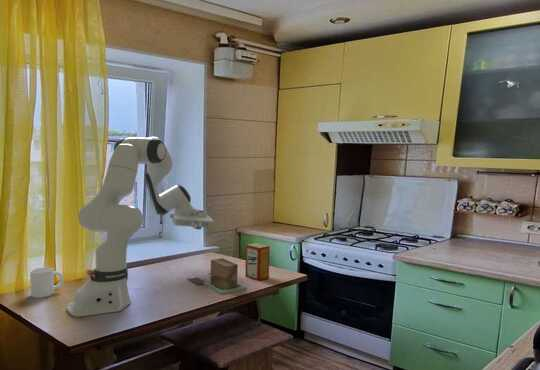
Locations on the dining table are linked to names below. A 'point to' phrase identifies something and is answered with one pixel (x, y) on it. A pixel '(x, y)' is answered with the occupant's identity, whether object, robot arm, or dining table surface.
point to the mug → (43, 282)
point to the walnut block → (224, 274)
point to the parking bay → (240, 287)
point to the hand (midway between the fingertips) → (198, 228)
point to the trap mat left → (197, 281)
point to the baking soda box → (257, 261)
